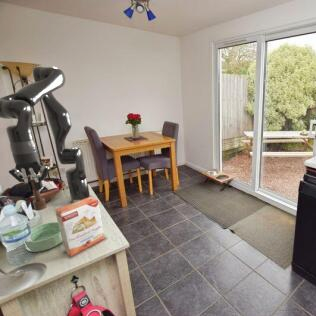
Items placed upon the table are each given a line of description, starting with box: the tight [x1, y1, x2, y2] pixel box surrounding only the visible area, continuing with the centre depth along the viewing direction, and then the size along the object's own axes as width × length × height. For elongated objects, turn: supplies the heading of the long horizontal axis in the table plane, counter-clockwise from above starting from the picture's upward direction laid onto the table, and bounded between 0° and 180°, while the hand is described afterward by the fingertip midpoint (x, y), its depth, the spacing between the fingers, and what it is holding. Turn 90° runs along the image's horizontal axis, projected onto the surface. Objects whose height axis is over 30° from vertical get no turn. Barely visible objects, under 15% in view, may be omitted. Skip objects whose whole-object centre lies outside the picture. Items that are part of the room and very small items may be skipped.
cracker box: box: [54, 196, 105, 257], centre depth 95 cm, size 14×6×21 cm, turn 148°
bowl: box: [25, 221, 63, 253], centre depth 99 cm, size 14×14×6 cm
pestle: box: [30, 177, 47, 211], centre depth 95 cm, size 4×4×14 cm
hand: (35, 189), depth 94 cm, fingers closed on pestle, 2 cm apart
